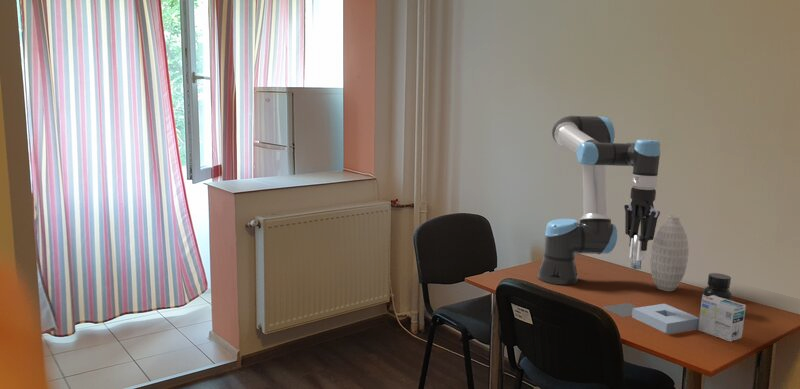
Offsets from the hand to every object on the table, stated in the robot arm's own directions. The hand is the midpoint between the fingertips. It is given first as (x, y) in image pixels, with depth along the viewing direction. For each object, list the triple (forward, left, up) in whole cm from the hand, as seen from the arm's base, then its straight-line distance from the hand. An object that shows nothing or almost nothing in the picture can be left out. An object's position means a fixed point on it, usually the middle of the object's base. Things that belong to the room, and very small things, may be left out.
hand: (636, 258), depth 203 cm
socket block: (+11, +4, -19) cm, 22 cm away
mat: (-2, 0, -19) cm, 19 cm away
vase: (-16, +33, -19) cm, 41 cm away
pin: (0, 0, -3) cm, 3 cm away
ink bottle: (+7, +32, -19) cm, 38 cm away
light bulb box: (+23, +13, -19) cm, 33 cm away
